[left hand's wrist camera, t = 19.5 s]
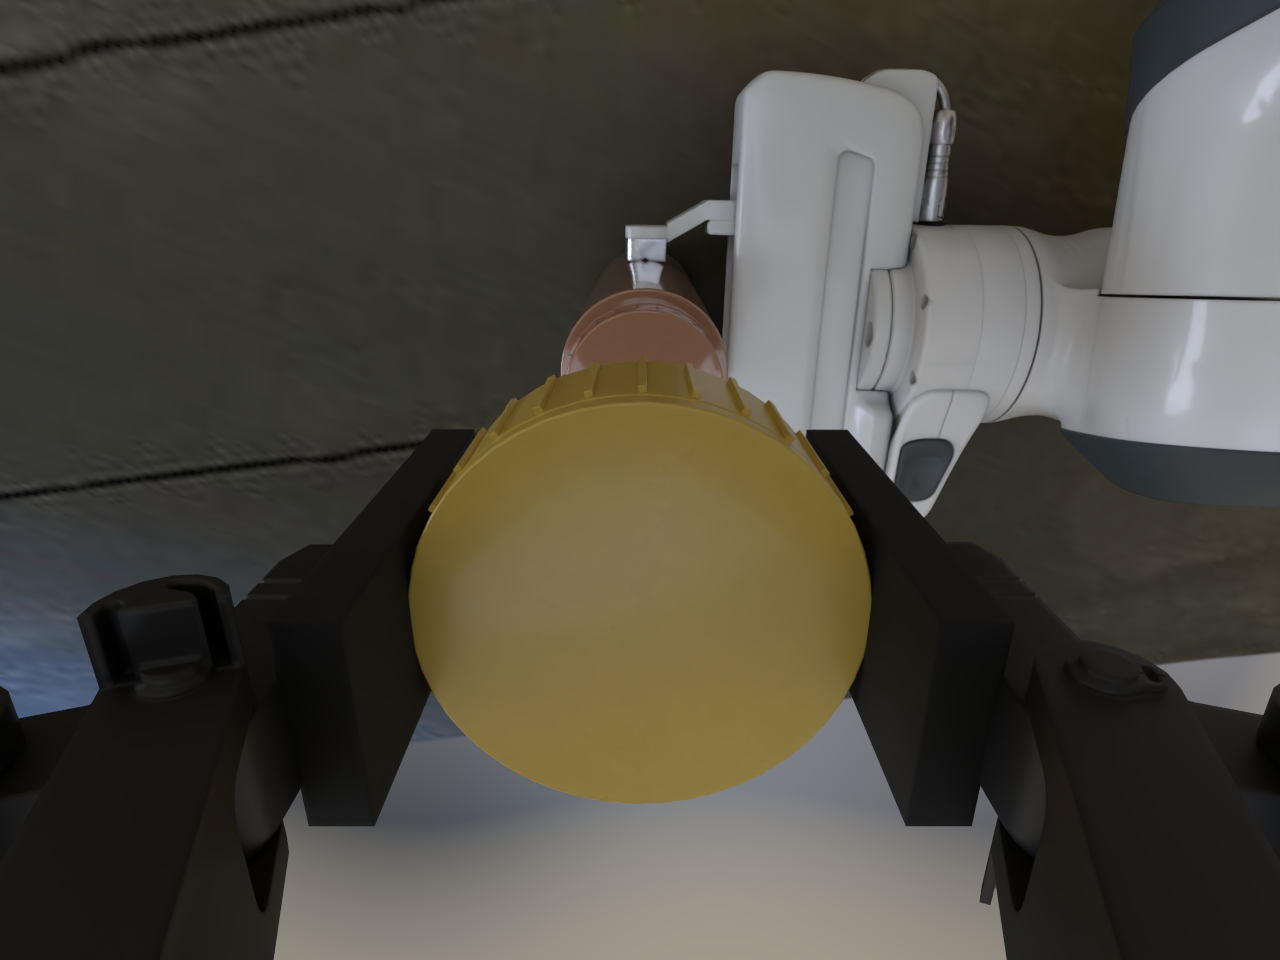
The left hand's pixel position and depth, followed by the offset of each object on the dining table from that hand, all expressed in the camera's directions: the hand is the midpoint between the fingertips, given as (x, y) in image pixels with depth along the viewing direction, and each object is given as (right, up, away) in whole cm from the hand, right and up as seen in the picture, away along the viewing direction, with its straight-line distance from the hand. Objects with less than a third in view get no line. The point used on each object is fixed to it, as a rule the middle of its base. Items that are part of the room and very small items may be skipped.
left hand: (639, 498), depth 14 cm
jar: (0, +10, +26) cm, 28 cm away
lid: (0, -1, -4) cm, 4 cm away
